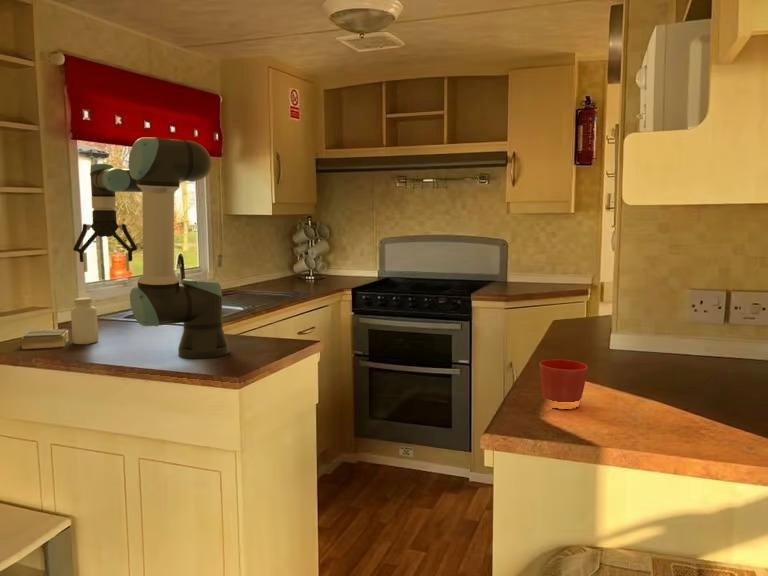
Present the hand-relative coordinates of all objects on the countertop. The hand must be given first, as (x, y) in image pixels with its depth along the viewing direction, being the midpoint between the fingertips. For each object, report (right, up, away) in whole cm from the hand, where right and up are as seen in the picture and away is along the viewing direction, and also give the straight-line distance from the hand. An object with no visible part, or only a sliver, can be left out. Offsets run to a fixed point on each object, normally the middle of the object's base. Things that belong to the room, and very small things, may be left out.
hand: (107, 271), depth 226 cm
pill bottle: (-5, -24, -5) cm, 25 cm away
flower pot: (+137, -33, -76) cm, 160 cm away
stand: (-17, -25, -9) cm, 31 cm away
